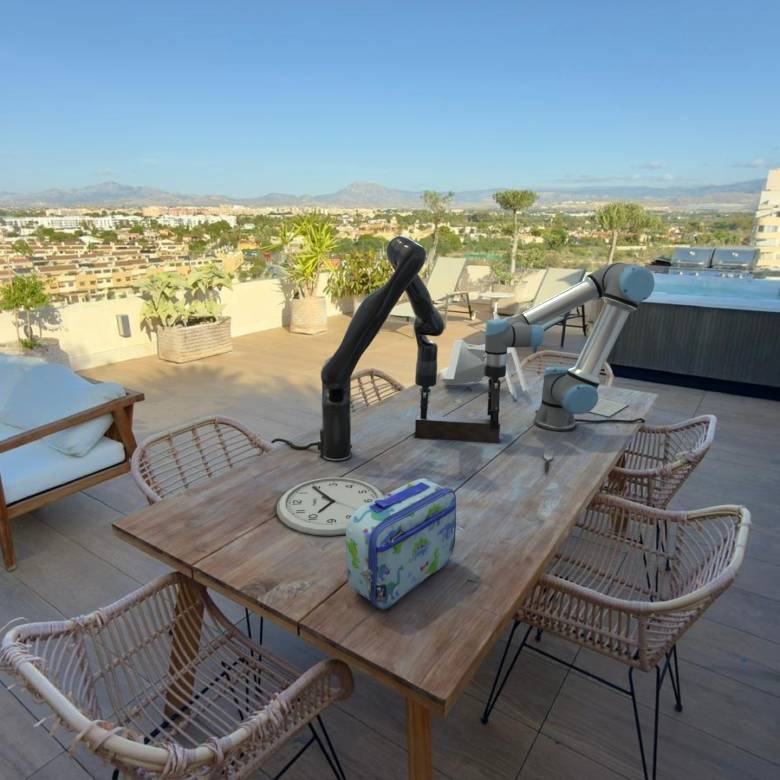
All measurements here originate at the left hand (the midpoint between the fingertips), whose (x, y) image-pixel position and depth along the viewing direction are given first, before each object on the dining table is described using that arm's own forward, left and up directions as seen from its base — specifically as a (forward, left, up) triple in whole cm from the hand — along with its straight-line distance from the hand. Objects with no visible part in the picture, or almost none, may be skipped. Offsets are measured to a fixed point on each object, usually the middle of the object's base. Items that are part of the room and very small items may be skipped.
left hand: (423, 414), depth 189 cm
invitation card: (+64, +59, -8) cm, 87 cm away
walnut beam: (+12, +2, -8) cm, 15 cm away
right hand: (+24, +6, -2) cm, 25 cm away
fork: (+44, -9, -8) cm, 46 cm away
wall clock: (-10, -57, -8) cm, 59 cm away
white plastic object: (+11, +60, -8) cm, 62 cm away
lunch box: (+18, -81, -8) cm, 83 cm away
